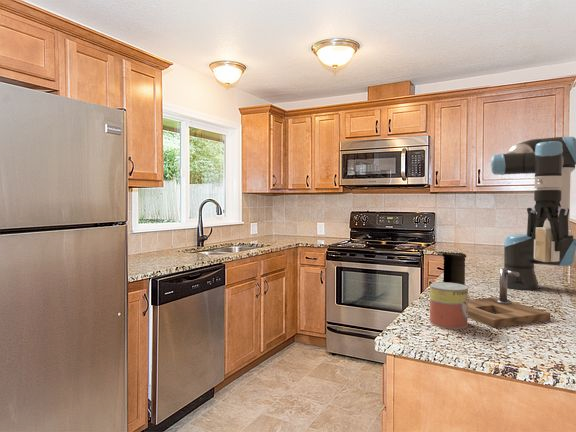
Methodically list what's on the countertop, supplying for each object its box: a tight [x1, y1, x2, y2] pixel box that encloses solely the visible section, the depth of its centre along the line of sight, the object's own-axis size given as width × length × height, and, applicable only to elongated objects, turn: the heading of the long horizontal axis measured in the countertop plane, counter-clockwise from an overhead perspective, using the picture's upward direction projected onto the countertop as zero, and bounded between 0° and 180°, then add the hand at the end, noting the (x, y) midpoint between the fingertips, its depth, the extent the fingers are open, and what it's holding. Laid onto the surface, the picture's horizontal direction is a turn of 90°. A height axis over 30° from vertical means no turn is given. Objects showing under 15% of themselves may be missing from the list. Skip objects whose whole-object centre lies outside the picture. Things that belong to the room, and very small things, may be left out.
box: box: [535, 226, 557, 262], centre depth 134 cm, size 5×4×11 cm
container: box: [442, 252, 467, 285], centre depth 158 cm, size 9×9×18 cm
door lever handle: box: [495, 267, 520, 304], centre depth 142 cm, size 5×8×12 cm, turn 17°
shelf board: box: [468, 296, 551, 329], centre depth 138 cm, size 23×22×2 cm
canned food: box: [429, 281, 469, 330], centre depth 129 cm, size 11×11×12 cm
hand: (546, 259), depth 134 cm, fingers closed on box, 6 cm apart
